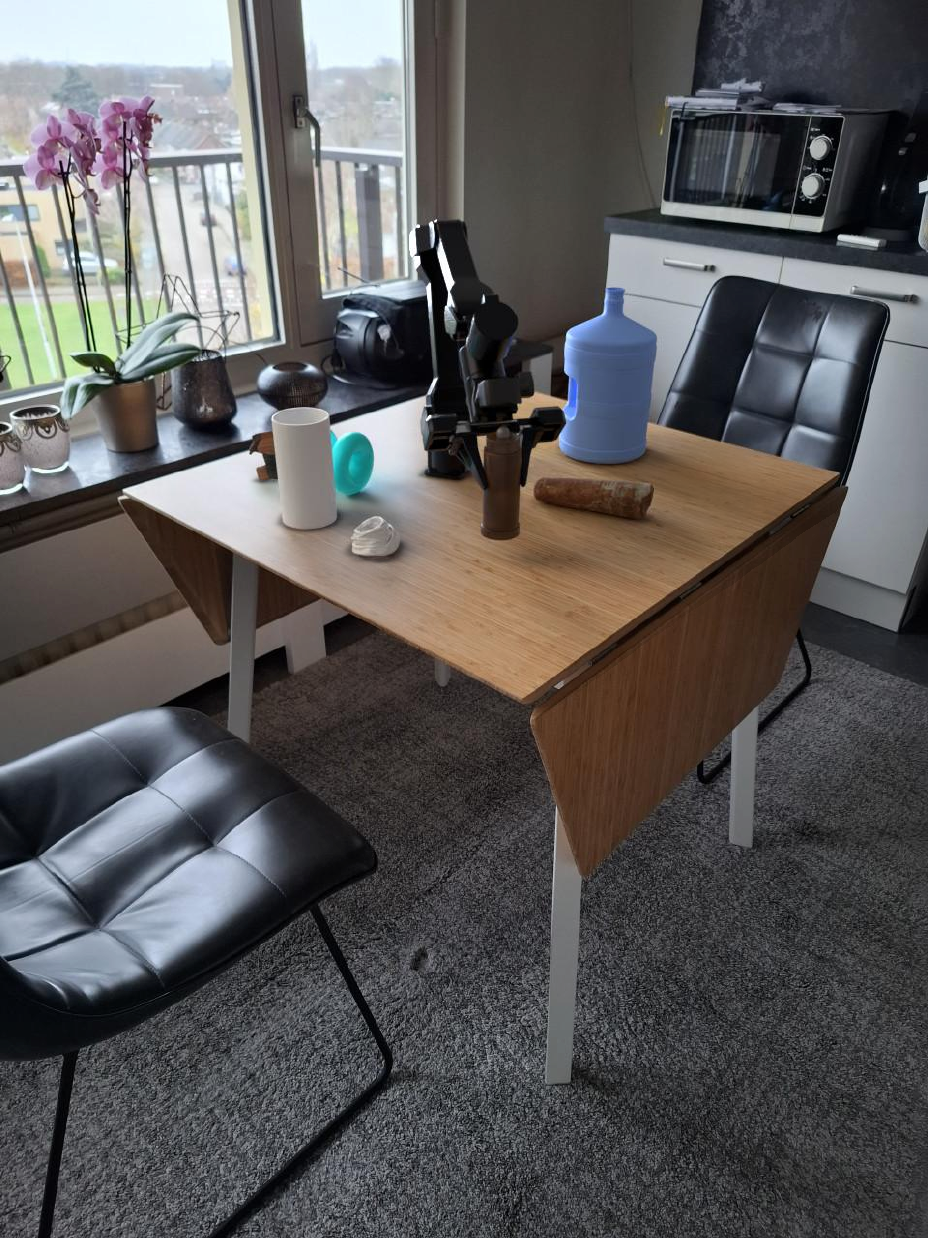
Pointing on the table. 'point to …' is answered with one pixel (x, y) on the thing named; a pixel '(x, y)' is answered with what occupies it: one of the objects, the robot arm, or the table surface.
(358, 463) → the donuts
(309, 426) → the cup
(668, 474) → the table surface
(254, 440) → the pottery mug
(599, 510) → the brown cylinder
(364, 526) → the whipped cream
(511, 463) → the pepper mill
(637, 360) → the water jug
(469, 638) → the table surface
